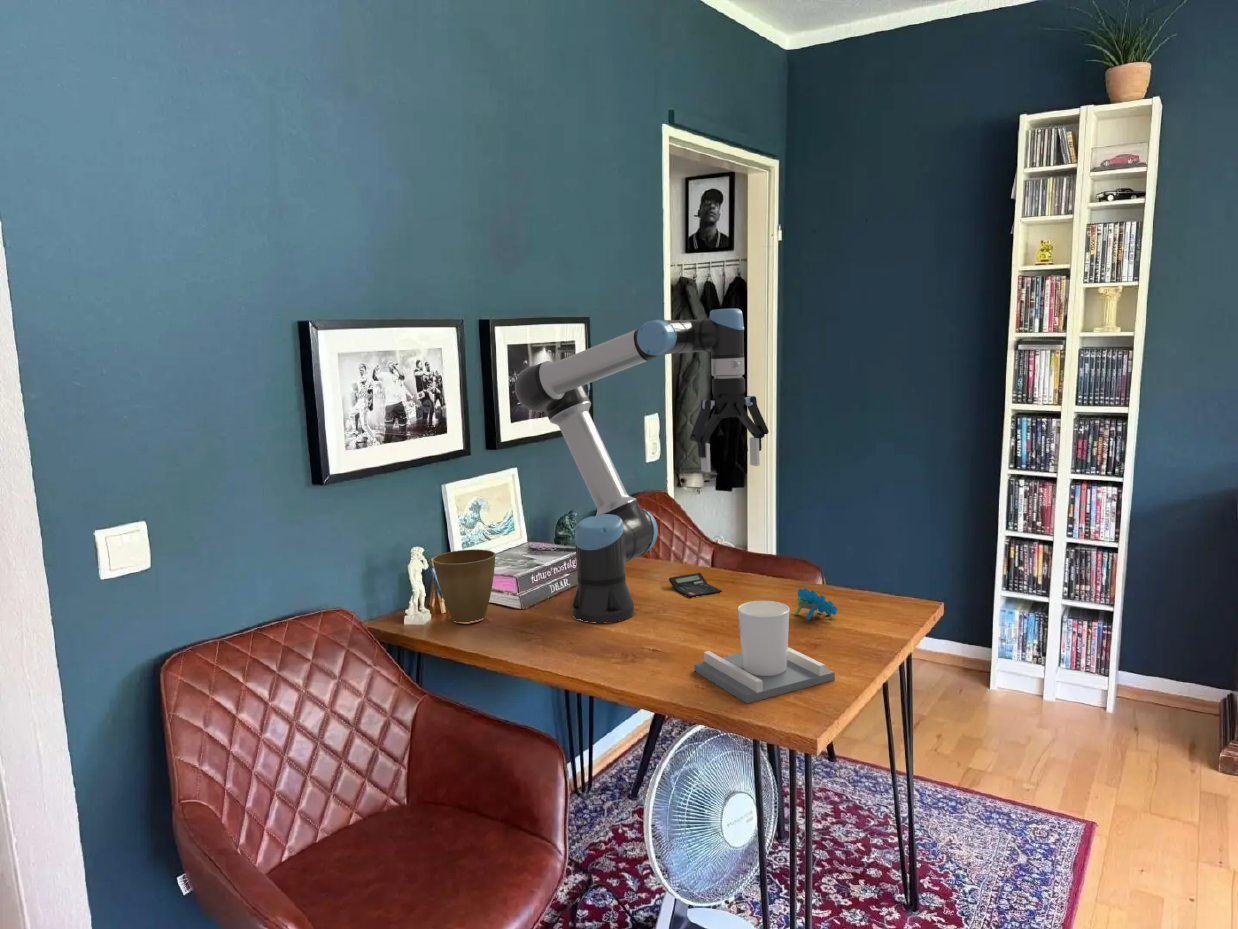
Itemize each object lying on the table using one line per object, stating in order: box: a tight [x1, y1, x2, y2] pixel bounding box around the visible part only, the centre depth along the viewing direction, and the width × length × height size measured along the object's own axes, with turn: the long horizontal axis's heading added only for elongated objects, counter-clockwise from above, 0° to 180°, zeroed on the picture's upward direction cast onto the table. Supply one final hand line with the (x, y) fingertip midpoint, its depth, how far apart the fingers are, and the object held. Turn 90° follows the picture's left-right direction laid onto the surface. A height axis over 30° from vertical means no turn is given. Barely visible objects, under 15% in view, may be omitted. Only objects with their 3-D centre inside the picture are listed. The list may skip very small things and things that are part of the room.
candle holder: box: [737, 600, 791, 676], centre depth 165 cm, size 10×10×12 cm
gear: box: [794, 587, 839, 621], centre depth 198 cm, size 11×6×10 cm
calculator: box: [668, 572, 723, 599], centre depth 225 cm, size 9×12×3 cm
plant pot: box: [432, 548, 496, 622], centre depth 207 cm, size 15×15×16 cm
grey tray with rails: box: [693, 646, 836, 704], centre depth 166 cm, size 20×18×4 cm
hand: (730, 468), depth 200 cm, fingers open, 13 cm apart
